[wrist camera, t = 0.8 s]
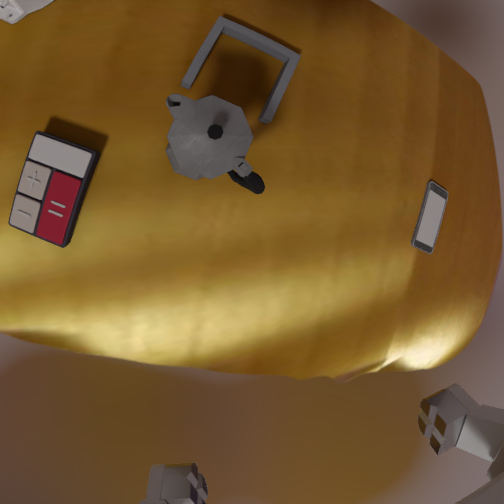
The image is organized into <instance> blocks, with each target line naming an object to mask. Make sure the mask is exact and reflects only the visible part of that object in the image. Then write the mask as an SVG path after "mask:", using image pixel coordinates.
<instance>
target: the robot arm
mask: <svg viewBox="0 0 504 504" xmlns="http://www.w3.org/2000/svg"><path fill="white" fill-rule="evenodd" d="M52 1H54V0H0V19H2V20H4V21H7V22H9V23H11V24H14V23H16V22H18V21H19V20H21V19H22V18H23V17H24V16H26V15H27V14H29V13H31V12H33V11H36V10H38V9H41V8H43V7H44V6H46V5H48V4H49V3H51V2H52ZM11 15H12V16H11ZM10 16H11V17H10ZM420 408H421V409H422V411H421V412H420V414H419V415H418V424H419V428H420V431H421V432H422V434H423V435H424V436H425V437H428V438H430V445H431V447H432V448H433V449H434V451H435V452H436V454H437V455H439V454H441V453H443V452H445V451H446V450H449V449H450V448H452V447H454V446H456V447H458V448H461V449H463V450H465V451H467V452H470V453H472V454H474V455H477V456H479V457H482V458H484V459H487V460H489V461H491V462H492V464H491V466H490V468H489V469H488V471H487V476H488V478H489V479H490V480H491V481H489V482H488V483H486V484H485V485H483V486H482V487H480V488H479V489H477V490H476V491H474V492H473V493H471V494H470V495H468V496H467V497H465V498H463V499H462V500H460V501H458V502H456V503H455V504H504V409H500V408H495V407H491V406H487V405H481V406H480V405H479V404H478V403H477V402H476V401H475V400H474V399H473V398H472V397H471V396H470V395H468V393H466V391H465V390H464V389H463V388H461V386H460V385H458V384H456V383H455V384H453V385H451V386H449V387H447V388H445V389H442V390H440V391H438V392H436V393H434V394H432V395H431V396H429V397H427V398H424V399H422V401H421V403H420ZM207 497H208V489H207V484H206V481H205V478H204V476H203V475H202V474H200V473H198V467H197V465H196V464H195V463H181V464H163V465H153V466H152V468H151V470H150V477H149V482H148V489H147V495H146V500H142V501H141V502H140V503H139V504H206V503H205V500H206V498H207Z"/></svg>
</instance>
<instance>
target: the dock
mask: <svg viewBox="0 0 504 504" xmlns="http://www.w3.org/2000/svg"><path fill="white" fill-rule="evenodd" d="M221 32H222V33H224V34H226V35H229V36H231V37H233V38H236V39H238V40H240V41H242V42H244V43H247V44H249V45H251V46H253V47H255V48H257V49H259V50H261V51H263V52H265V53H267V54H269V55H271V56H273V57H275V58H277V59H279V60H281V61H283V62H284V65H283V67H282V69H281V71H280V74H279V76H278V78H277V80H276V82H275V84H274V86H273V88H272V91H271V93H270V95H269V97H268V99H267V101H266V104H265V106H264V108H263V110H262V112H261V114H260V117H259V119H258V120H259V121H261V122H263V123H265V124H267V123H269V122H271V121H272V119H273V117H274V114H275V112H276V110H277V108H278V105H279V103H280V101H281V99H282V96H283V94H284V92H285V90H286V88H287V85H288V83H289V81H290V79H291V77H292V75H293V72H294V70H295V68H296V66H297V64H298V62H299V59H300V57H301V55H299V54H297V53H295V52H294V51H292V50H290V49H288V48H286V47H284V46H283V45H281V44H279V43H277V42H275V41H273V40H271V39H269V38H267V37H265V36H263V35H261V34H259V33H257V32H255V31H253V30H250V29H248V28H246V27H244V26H242V25H239V24H237V23H235V22H233V21H230V20H228V19H226V18H223V17H221V16H220V17H219V18H218V20H217V21H216V23H215V25H214V26H213V28H212V29H211V31H210V33H209V34H208V36H207V38H206V39H205V41H204V43H203V44H202V46H201V48H200V50H199V51H198V53H197V55H196V57H195V58H194V60H193V62H192V64H191V66H190V67H189V69H188V71H187V73H186V75H185V77H184V78H183V80H182V83H181V86H182V87H184V88H187V89H189V90H190V88H191V86H192V84H193V82H194V80H195V78H196V76H197V74H198V72H199V71H200V69H201V67H202V65H203V63H204V61H205V60H206V58H207V56H208V54H209V53H210V51H211V49H212V47H213V46H214V44H215V42H216V40H217V39H218V37H219V35H220V34H221Z"/></svg>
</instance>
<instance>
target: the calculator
mask: <svg viewBox="0 0 504 504" xmlns="http://www.w3.org/2000/svg"><path fill="white" fill-rule="evenodd" d="M99 158H100V152H98V151H95V150H93V149H90V148H87V147H85V146H82V145H79V144H76V143H74V142H71V141H68V140H65V139H62V138H60V137H57V136H54V135H51V134H48V133H45V132H41V131H36V133H35V135H34V138H33V140H32V143H31V146H30V149H29V152H28V154H27V157H26V160H25V163H24V166H23V170H22V173H21V176H20V180H19V183H18V186H17V190H16V194H15V197H14V201H13V205H12V209H11V213H10V218H9V225H10V226H12V227H14V228H17V229H19V230H21V231H24V232H26V233H28V234H31V235H33V236H35V237H38V238H40V239H43V240H45V241H47V242H50V243H52V244H55V245H57V246H60V247H62V248H64V247H66V246H67V245H68V244H69V243H70V241H71V238H72V234H73V231H74V228H75V224H76V221H77V218H78V215H79V212H80V208H81V205H82V202H83V199H84V196H85V193H86V191H87V188H88V185H89V182H90V180H91V178H92V175H93V173H94V170H95V168H96V165H97V162H98V160H99Z"/></svg>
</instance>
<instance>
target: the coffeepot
mask: <svg viewBox="0 0 504 504" xmlns="http://www.w3.org/2000/svg"><path fill="white" fill-rule="evenodd" d="M166 105H167V106H168V108H169V110H170V112H171V114H172V116H173V118H174V121H173V123H172V126H171V128H170V130H169V133H168V135H167V138H168V140H169V144H168V146H167V148H166V153H167V155H168V158H169V160H170V162H171V165H172V167H173V170H174V172H176V173H179V174H181V175H184V176H187V177H189V178H192V179H194V180H198V179H200V178H202V177H207V178H209V179H212V178H214V177H217V176H219V175H222V174H224V173H226V172H227V173H228V174H229V176H230V177H231V178H232V180H233V181H234V182H236V183H238V184H239V185H241V186H242V187H245V188H247V189H249V190H250V191H252V192H254V193H255V194H261V193H262V192H263V191H264V189H265V185H264V182H263V180H262V178H261V177H260V176H259V175H258V174H257V173H255V172H253V171H251V170H252V169H253V168H252V167H251V166H250V165H249V164H248V163H247V161H246V160H245V159H244V158H245V156H246V154H247V151H248V149H249V146H250V144H251V142H252V139H253V135H252V132H251V130H250V127H249V125H248V122H247V120H246V117H245V115H244V113H243V110H242V108H241V107H239V106H236V105H234V104H232V103H229V102H227V101H225V100H223V99H220V98H218V97H216V96H213V95H210V96H207V97H204V98H202V99H199V100H196V101H194V100H192V99H189V98H187V97H185V96H183V95H180V94H178V93H175V94H171V95H170V96H169V97H168V98H167V99H166ZM234 169H235V170H236V172H237V173H236V172H235V171H233V170H234Z"/></svg>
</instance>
